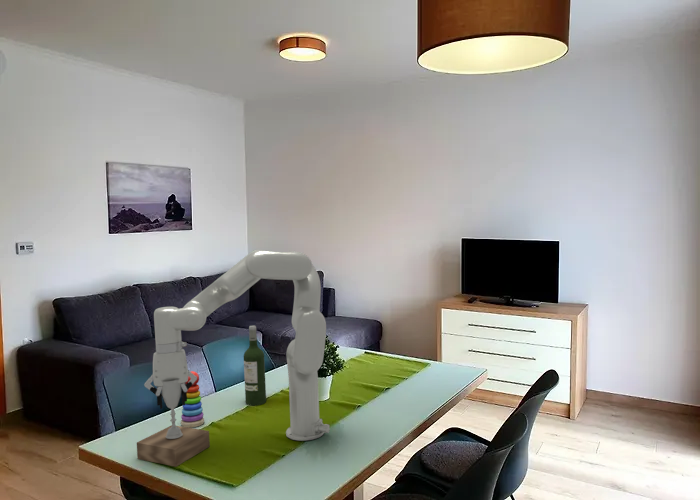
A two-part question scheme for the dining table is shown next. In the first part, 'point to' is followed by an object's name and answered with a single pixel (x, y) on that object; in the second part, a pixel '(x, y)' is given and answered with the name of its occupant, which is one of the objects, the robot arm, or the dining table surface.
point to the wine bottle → (254, 371)
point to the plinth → (173, 446)
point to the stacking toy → (192, 406)
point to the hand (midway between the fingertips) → (172, 405)
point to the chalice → (172, 404)
